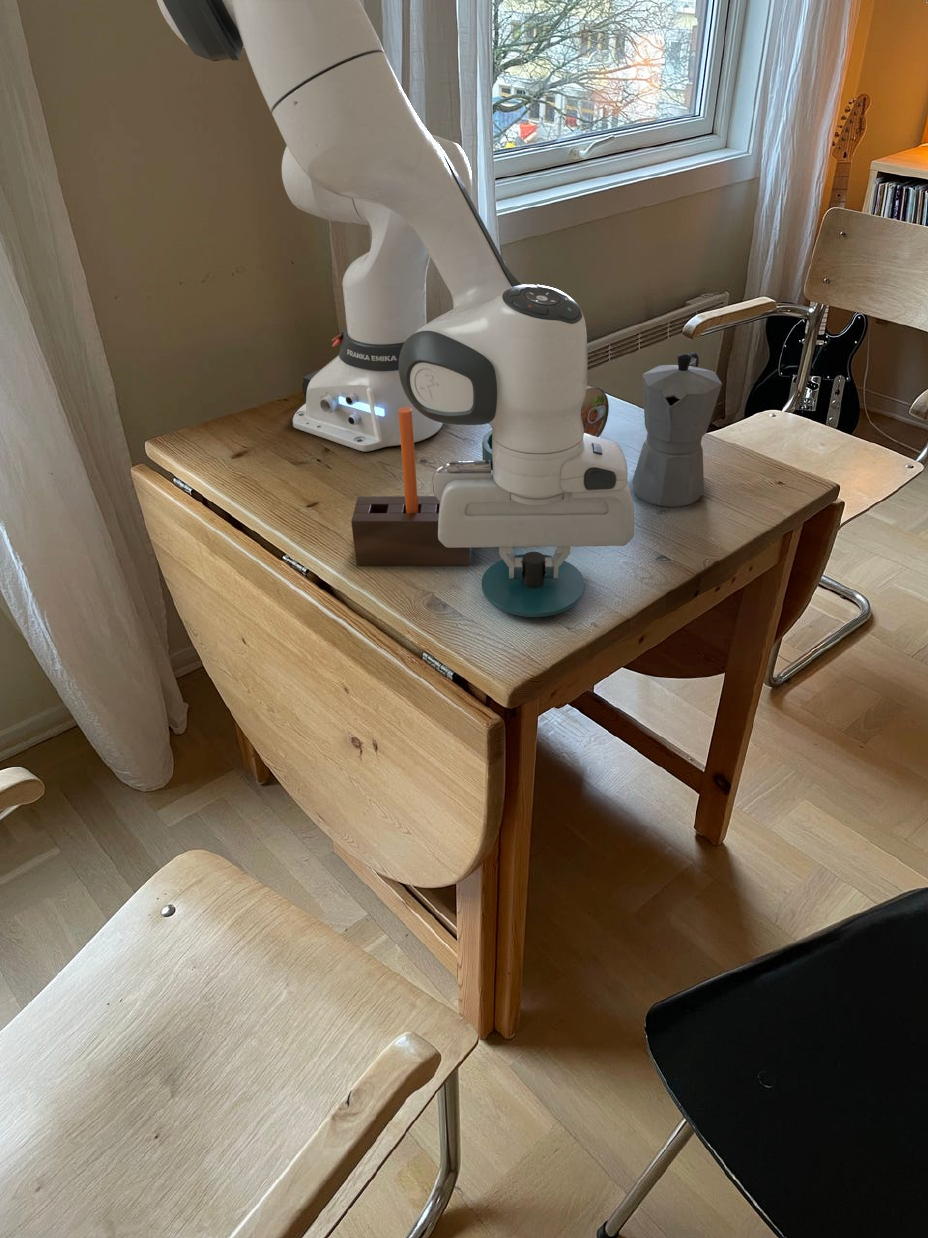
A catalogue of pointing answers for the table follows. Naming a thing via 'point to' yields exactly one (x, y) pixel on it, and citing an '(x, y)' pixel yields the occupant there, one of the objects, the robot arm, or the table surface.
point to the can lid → (533, 587)
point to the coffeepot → (675, 432)
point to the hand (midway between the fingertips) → (533, 575)
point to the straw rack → (401, 534)
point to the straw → (408, 459)
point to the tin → (594, 411)
